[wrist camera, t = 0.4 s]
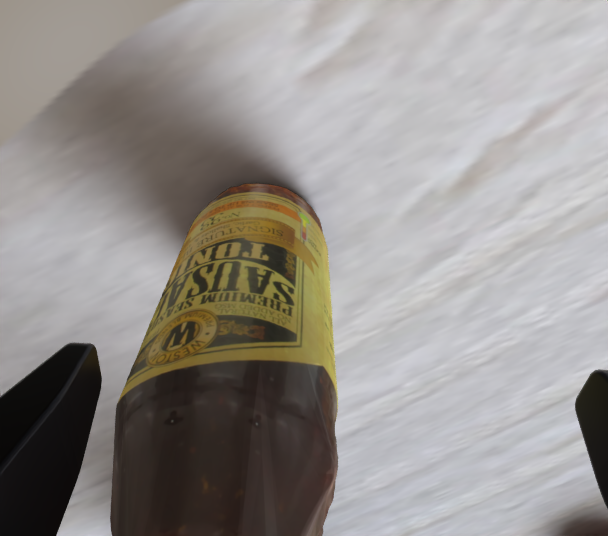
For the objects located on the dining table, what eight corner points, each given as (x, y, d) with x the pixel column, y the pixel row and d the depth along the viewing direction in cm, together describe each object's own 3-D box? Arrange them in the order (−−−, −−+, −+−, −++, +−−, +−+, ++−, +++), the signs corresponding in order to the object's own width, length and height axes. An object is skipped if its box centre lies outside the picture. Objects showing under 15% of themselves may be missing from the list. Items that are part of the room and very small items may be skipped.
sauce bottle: (296, 154, 22) (336, 821, 5) (342, 270, 25) (465, 929, 8) (160, 205, 23) (-198, 905, 6) (220, 311, 26) (97, 973, 9)
